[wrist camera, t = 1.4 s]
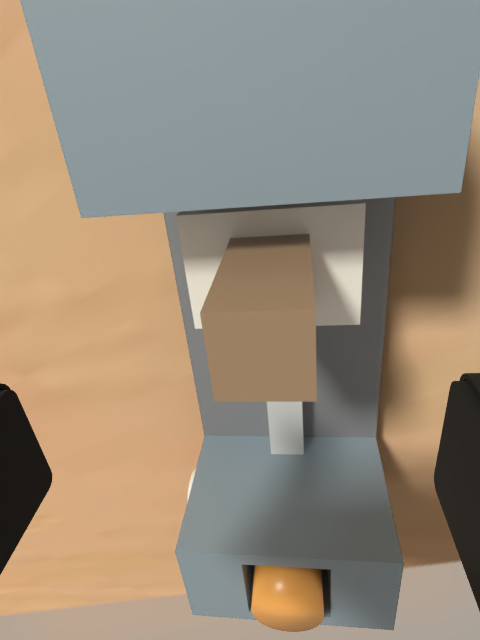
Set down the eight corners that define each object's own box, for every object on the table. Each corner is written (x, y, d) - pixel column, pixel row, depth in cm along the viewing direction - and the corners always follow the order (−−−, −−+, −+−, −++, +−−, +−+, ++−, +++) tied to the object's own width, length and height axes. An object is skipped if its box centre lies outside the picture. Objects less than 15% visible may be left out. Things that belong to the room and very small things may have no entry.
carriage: (352, 179, 19) (402, 269, 10) (349, 283, 21) (386, 428, 12) (196, 191, 20) (118, 281, 11) (210, 289, 22) (156, 426, 13)
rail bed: (404, -19, 17) (507, -109, 9) (367, 483, 31) (393, 630, 23) (125, 20, 18) (-11, -25, 10) (211, 478, 33) (182, 614, 24)
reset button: (320, 535, 23) (324, 595, 20) (321, 575, 24) (323, 634, 22) (253, 532, 23) (248, 590, 21) (258, 571, 25) (254, 628, 22)
